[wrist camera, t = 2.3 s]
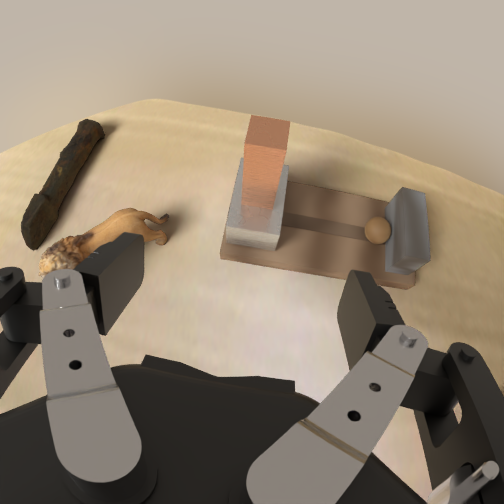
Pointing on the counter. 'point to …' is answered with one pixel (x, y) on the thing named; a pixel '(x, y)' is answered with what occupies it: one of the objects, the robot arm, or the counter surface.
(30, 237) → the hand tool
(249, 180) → the block
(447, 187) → the counter surface
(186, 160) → the counter surface
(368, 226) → the hazelnut
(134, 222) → the lion figurine
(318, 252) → the press base
